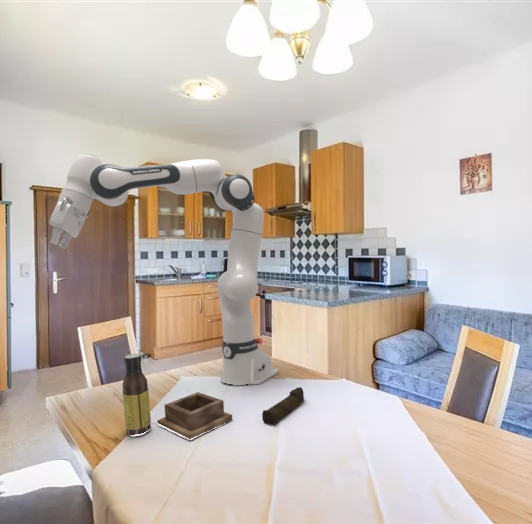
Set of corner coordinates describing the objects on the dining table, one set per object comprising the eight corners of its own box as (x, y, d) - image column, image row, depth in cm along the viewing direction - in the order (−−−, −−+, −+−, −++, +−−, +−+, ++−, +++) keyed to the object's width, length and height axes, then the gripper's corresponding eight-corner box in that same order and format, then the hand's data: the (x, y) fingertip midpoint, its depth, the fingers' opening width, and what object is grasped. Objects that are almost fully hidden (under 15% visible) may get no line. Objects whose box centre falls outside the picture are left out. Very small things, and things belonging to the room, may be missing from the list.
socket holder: (199, 407, 109) (198, 389, 109) (232, 420, 100) (231, 400, 100) (157, 425, 98) (156, 405, 98) (190, 441, 89) (189, 418, 89)
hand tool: (274, 427, 95) (273, 409, 95) (261, 423, 97) (261, 406, 97) (311, 402, 110) (311, 387, 110) (300, 399, 113) (299, 384, 112)
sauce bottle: (148, 424, 100) (144, 350, 99) (153, 433, 94) (149, 355, 94) (123, 430, 96) (119, 354, 96) (127, 440, 91) (123, 360, 91)
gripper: (77, 198, 105) (60, 244, 103) (90, 214, 125) (76, 253, 123) (54, 191, 104) (35, 237, 102) (70, 208, 123) (55, 247, 121)
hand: (58, 246), depth 112 cm, fingers open, 8 cm apart
